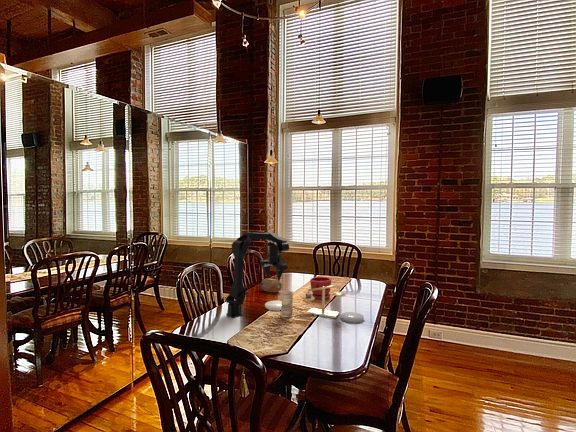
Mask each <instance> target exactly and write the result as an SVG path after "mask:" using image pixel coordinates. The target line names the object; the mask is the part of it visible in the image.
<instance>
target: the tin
mask: <svg viewBox="0 0 576 432" xmlns="http://www.w3.org/2000/svg"><path fill="white" fill-rule="evenodd" d="M260 287H261V289H262V290H263V291H265V292H270V293H278V292H280V291H282V283H281V280H280V281H278V279H274V278H267V277H266V278H263V279H262V280H261V282H260Z"/></svg>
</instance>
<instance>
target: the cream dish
mask: <svg viewBox="0 0 576 432" xmlns="http://www.w3.org/2000/svg"><path fill="white" fill-rule="evenodd" d="M264 308H265V309H267V310H268V311H272V310H273V311H274V312H281V311H280V310H281V308H282V300H269V301H267V302H266V303H265V304H264ZM273 311H272V312H273Z"/></svg>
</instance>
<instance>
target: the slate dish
mask: <svg viewBox="0 0 576 432" xmlns="http://www.w3.org/2000/svg"><path fill="white" fill-rule="evenodd" d="M340 320H341V321H343V322H345V323H349V324H359V323H362V322H364V315H363V314H361V313H359V312H354V311H346V312H345V311H344V312H342V313H341V314H340Z"/></svg>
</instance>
